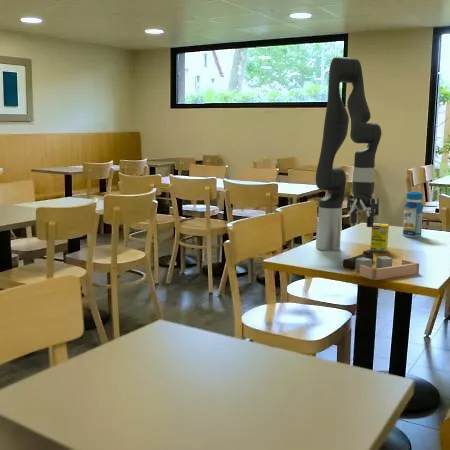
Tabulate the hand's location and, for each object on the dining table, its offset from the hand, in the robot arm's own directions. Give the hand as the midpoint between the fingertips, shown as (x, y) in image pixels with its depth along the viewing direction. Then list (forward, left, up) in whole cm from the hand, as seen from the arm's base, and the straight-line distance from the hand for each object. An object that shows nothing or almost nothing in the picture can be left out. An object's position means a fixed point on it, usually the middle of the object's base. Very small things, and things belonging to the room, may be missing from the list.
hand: (361, 225), depth 206 cm
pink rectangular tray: (+15, 0, -15) cm, 21 cm away
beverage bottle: (-32, +58, -15) cm, 68 cm away
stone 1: (+7, -4, -15) cm, 17 cm away
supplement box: (-14, +22, -15) cm, 30 cm away
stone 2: (+8, +4, -15) cm, 17 cm away
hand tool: (0, 0, -15) cm, 15 cm away
